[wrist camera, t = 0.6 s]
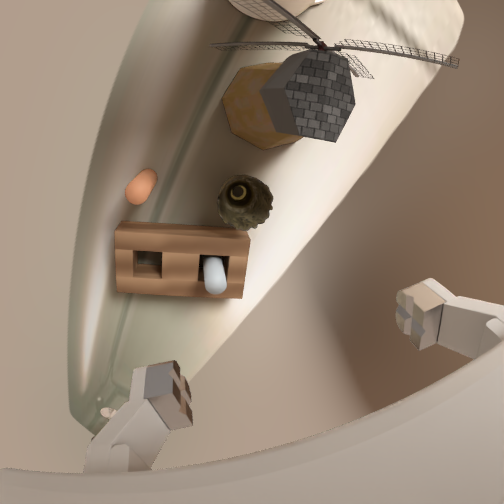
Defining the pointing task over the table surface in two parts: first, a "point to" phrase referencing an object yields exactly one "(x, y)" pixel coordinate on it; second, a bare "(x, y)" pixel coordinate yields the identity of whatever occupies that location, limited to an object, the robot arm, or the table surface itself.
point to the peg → (141, 186)
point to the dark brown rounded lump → (244, 202)
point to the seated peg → (214, 274)
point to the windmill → (296, 90)
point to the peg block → (178, 258)
